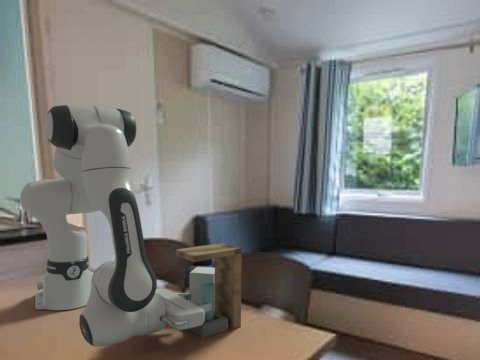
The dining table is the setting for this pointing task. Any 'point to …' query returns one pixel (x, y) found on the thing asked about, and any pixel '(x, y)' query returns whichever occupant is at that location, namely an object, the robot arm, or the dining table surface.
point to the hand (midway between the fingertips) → (199, 300)
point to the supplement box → (200, 282)
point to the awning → (222, 277)
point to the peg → (208, 299)
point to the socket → (212, 326)
